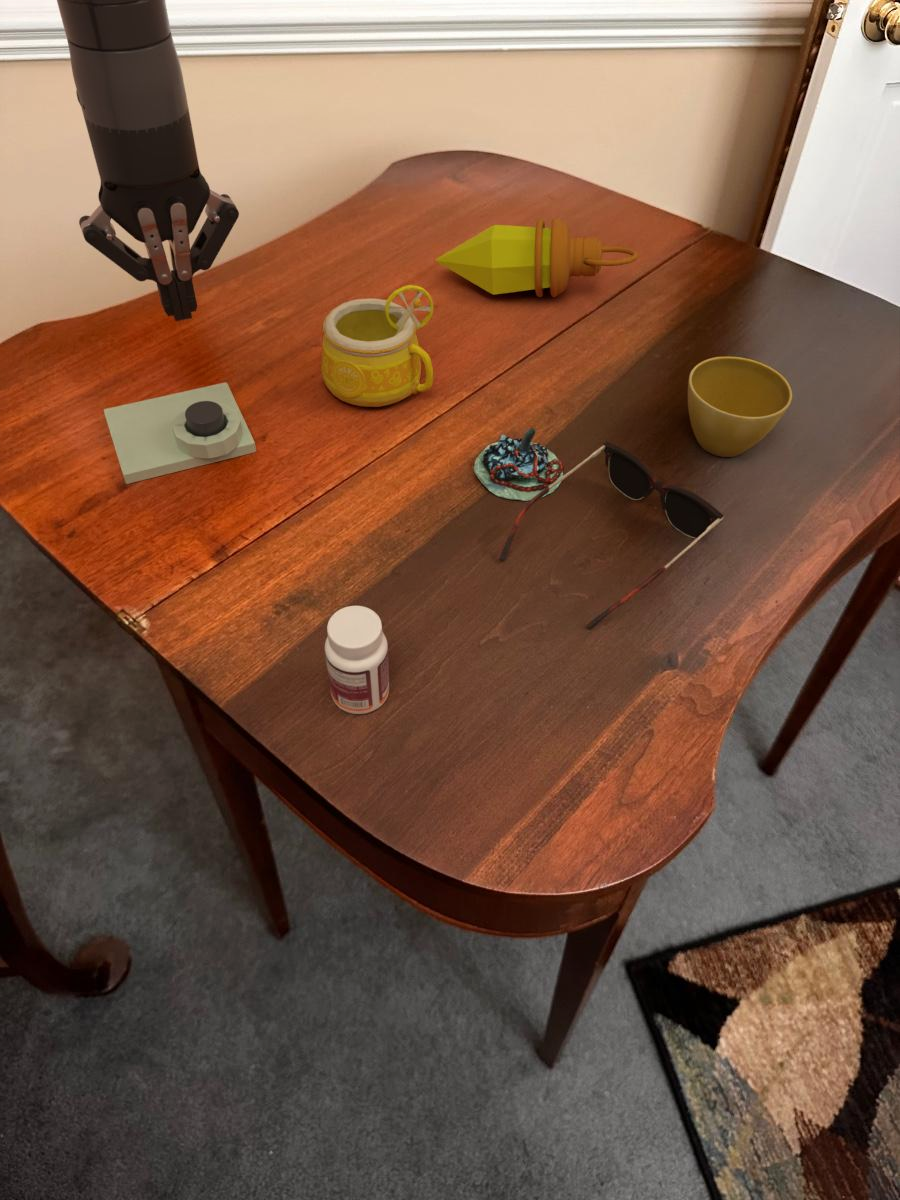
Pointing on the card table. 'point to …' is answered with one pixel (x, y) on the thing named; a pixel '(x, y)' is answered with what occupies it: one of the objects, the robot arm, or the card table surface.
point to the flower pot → (735, 403)
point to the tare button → (205, 418)
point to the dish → (518, 468)
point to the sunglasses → (637, 483)
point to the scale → (174, 434)
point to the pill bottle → (357, 660)
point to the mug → (375, 350)
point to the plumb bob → (529, 258)
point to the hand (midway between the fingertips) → (182, 315)
